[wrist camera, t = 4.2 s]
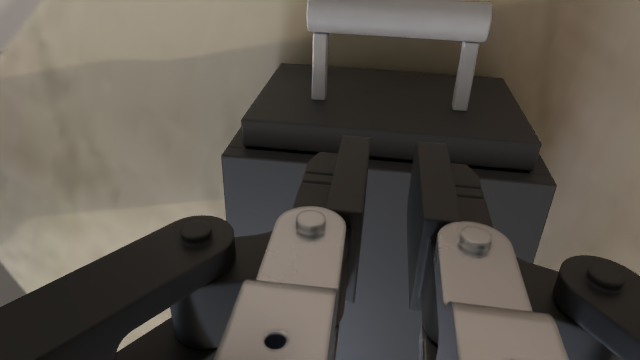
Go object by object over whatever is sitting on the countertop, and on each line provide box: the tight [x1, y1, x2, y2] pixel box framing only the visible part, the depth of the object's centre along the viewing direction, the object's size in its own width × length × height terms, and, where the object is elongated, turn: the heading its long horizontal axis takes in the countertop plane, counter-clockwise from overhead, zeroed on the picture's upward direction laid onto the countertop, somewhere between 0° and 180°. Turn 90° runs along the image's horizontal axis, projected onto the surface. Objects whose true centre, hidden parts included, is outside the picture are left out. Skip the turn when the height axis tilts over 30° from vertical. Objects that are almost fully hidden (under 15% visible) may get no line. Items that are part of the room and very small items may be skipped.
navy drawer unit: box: [221, 127, 557, 360], centre depth 27 cm, size 16×13×10 cm
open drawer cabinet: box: [241, 0, 541, 171], centre depth 25 cm, size 19×11×8 cm, turn 178°
